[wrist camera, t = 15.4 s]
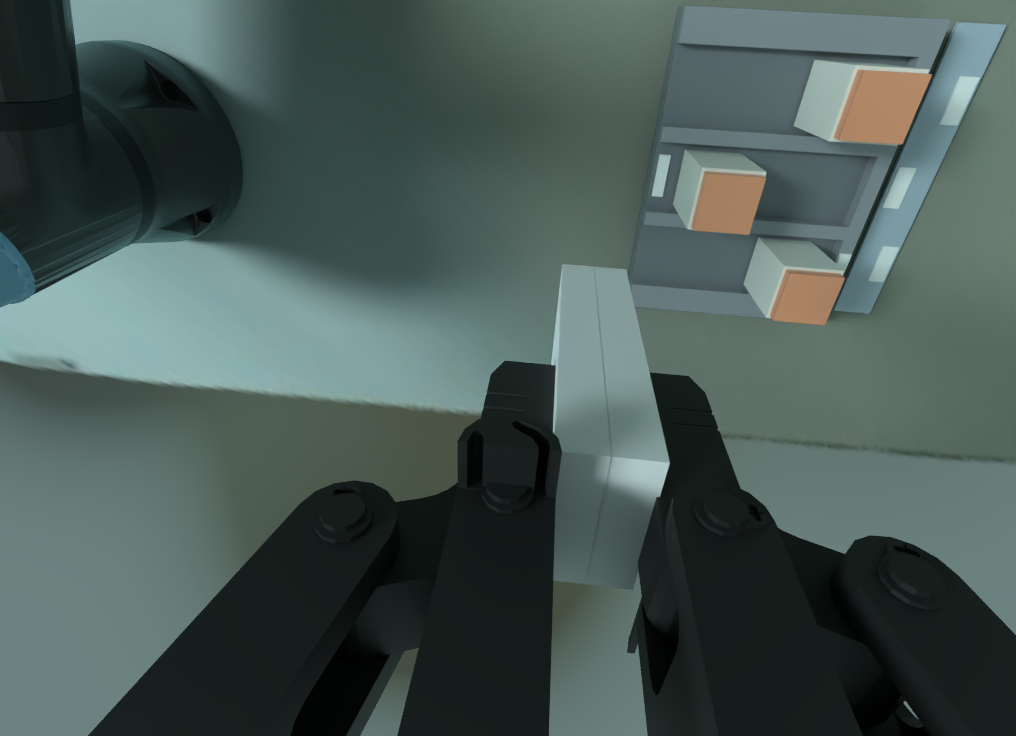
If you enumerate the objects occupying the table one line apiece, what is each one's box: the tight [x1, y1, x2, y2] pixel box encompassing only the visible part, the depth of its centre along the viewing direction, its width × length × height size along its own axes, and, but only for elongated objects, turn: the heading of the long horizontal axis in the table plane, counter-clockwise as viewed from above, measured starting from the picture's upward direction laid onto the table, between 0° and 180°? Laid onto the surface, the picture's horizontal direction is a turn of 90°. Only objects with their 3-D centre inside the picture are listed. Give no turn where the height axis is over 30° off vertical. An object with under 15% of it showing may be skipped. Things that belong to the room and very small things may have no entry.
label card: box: [833, 22, 1006, 314], centre depth 40 cm, size 3×21×1 cm, turn 177°
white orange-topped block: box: [794, 60, 932, 146], centre depth 33 cm, size 4×4×7 cm
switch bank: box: [628, 6, 951, 319], centre depth 40 cm, size 16×21×3 cm
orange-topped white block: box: [673, 149, 767, 235], centre depth 36 cm, size 4×4×7 cm
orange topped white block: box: [744, 237, 845, 325], centre depth 39 cm, size 4×4×7 cm
